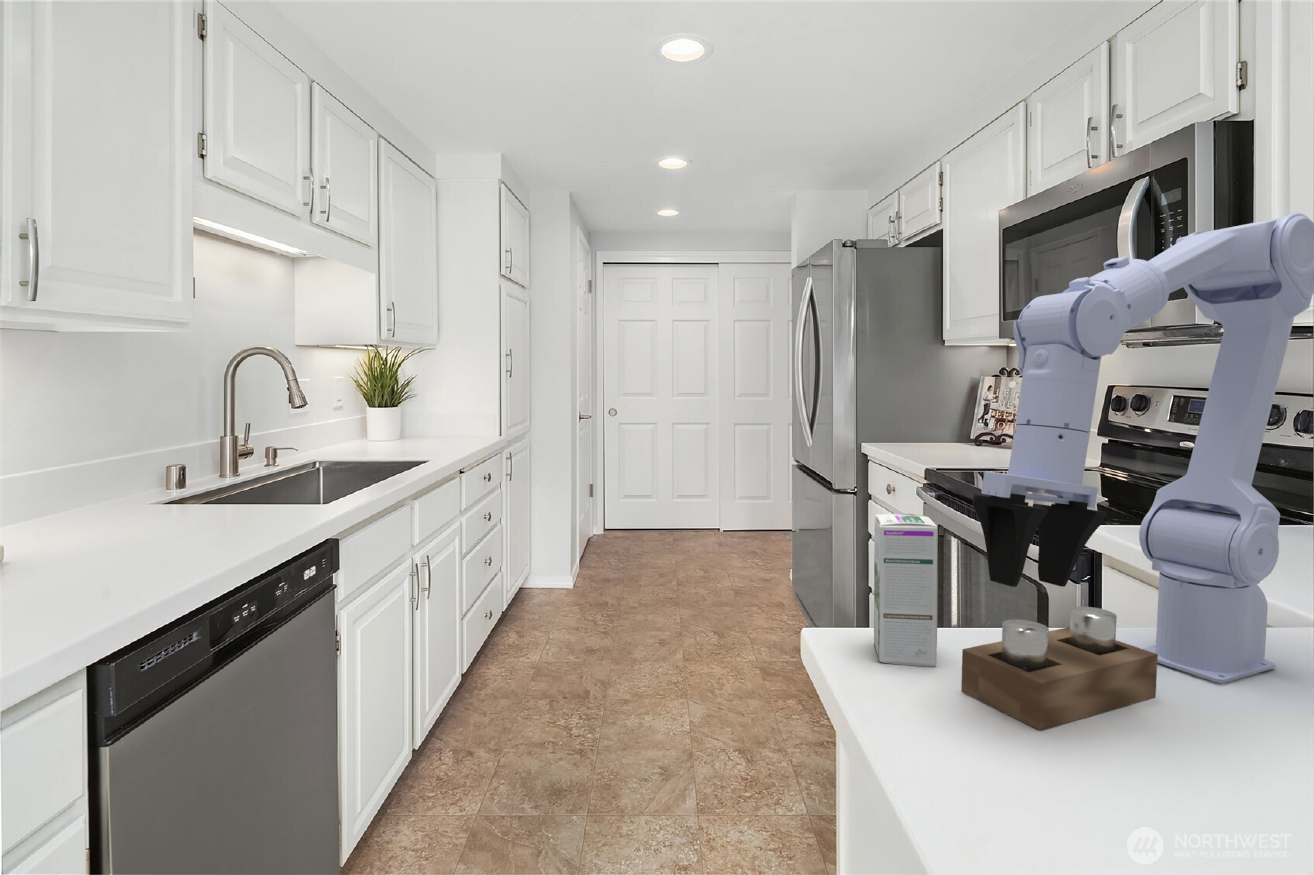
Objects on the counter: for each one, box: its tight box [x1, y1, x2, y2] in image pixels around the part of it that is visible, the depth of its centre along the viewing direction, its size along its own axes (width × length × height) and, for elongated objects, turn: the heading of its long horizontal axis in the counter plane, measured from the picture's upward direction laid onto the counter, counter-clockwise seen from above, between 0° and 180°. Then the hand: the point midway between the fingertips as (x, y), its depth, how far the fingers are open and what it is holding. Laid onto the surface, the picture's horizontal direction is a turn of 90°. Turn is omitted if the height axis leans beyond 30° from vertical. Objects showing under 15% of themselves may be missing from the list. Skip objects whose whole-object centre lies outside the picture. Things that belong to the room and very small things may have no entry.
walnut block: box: [960, 626, 1158, 731], centre depth 63 cm, size 15×8×4 cm, turn 114°
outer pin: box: [1001, 618, 1050, 672], centre depth 61 cm, size 4×4×4 cm
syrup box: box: [873, 513, 939, 668], centre depth 72 cm, size 6×6×14 cm
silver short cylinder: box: [1069, 606, 1118, 656], centre depth 65 cm, size 4×4×4 cm
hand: (1028, 583), depth 61 cm, fingers open, 7 cm apart
